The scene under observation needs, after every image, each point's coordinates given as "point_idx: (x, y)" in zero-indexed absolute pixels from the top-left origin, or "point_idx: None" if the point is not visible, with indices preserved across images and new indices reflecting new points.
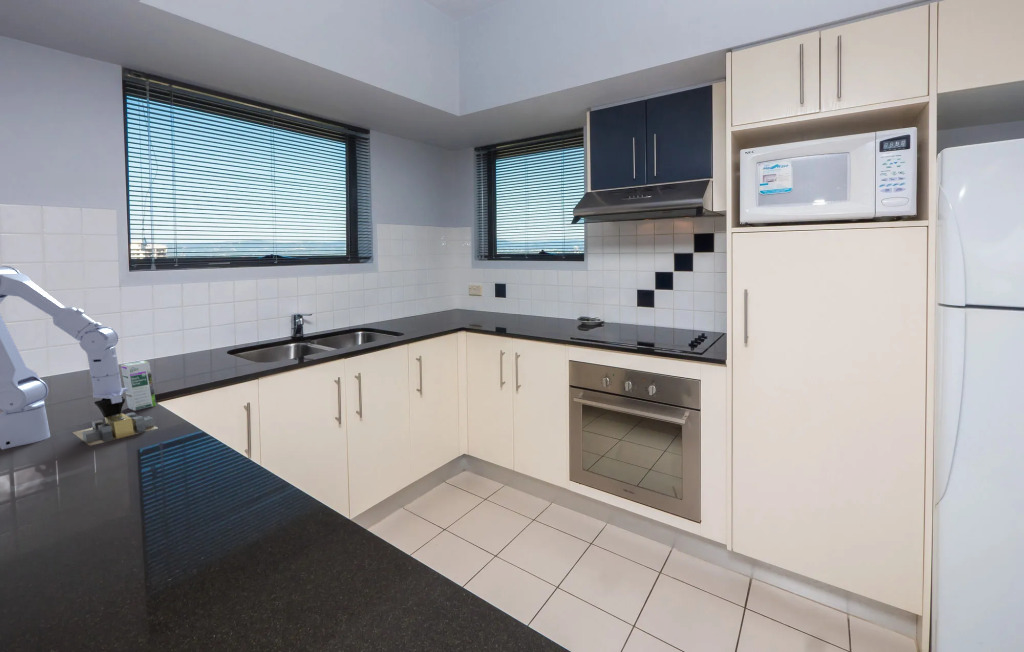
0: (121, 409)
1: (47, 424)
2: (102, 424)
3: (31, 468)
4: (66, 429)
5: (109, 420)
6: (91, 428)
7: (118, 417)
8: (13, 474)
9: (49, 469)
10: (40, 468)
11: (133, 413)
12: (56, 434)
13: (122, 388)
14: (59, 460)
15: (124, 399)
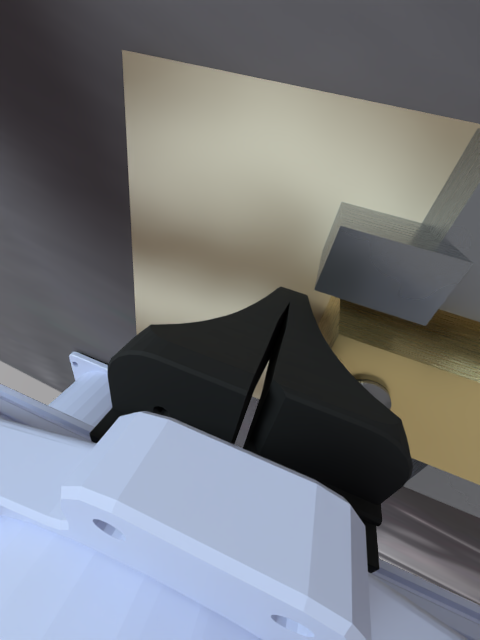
0: (333, 353)
1: (95, 422)
2: (414, 475)
3: (385, 536)
4: (40, 299)
5: (422, 458)
6: (145, 305)
7: (454, 428)
8: (379, 552)
9: (465, 555)
10: (418, 543)
11: (405, 259)
12: (83, 341)
13: (115, 549)
14: (411, 511)
15: (408, 449)
